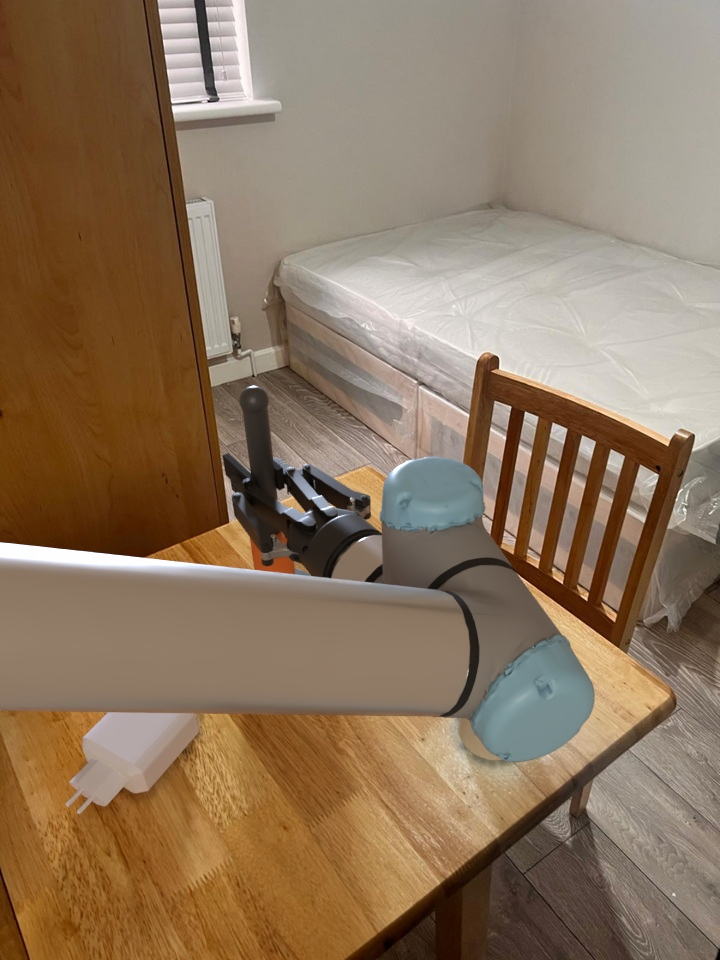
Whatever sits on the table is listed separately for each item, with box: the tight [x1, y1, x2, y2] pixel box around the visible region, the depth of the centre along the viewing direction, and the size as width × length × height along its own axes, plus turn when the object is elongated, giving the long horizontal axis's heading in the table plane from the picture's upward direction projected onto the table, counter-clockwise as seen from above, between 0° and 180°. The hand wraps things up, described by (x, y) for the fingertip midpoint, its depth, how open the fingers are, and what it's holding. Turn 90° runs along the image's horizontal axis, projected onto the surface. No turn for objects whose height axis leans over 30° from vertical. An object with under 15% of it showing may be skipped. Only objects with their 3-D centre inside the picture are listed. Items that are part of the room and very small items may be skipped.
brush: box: [238, 385, 296, 574], centre depth 81 cm, size 5×5×26 cm
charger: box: [65, 712, 200, 815], centre depth 83 cm, size 5×9×15 cm
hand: (239, 459), depth 84 cm, fingers closed on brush, 3 cm apart
